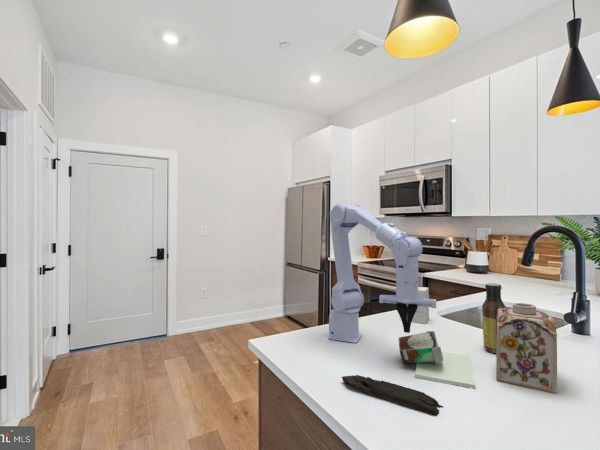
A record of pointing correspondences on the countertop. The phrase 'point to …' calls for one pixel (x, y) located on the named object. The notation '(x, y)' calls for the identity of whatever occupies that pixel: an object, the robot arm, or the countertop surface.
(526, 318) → the decorative jar
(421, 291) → the supplement box
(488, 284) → the sauce bottle
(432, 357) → the food container
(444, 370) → the board
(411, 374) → the countertop surface
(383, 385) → the wood
